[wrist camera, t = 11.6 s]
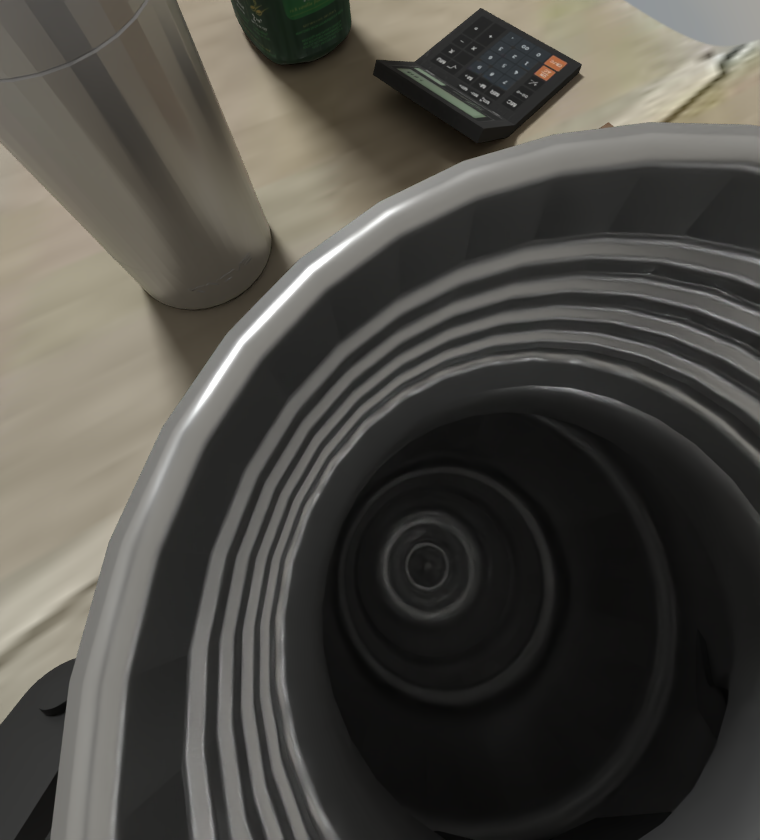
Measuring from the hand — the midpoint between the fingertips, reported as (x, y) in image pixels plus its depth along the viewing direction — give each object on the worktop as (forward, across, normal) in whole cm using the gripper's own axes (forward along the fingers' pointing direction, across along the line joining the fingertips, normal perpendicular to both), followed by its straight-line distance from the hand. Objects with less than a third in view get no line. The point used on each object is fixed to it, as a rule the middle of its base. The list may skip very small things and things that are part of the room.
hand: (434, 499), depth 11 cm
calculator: (+31, -8, -12) cm, 35 cm away
